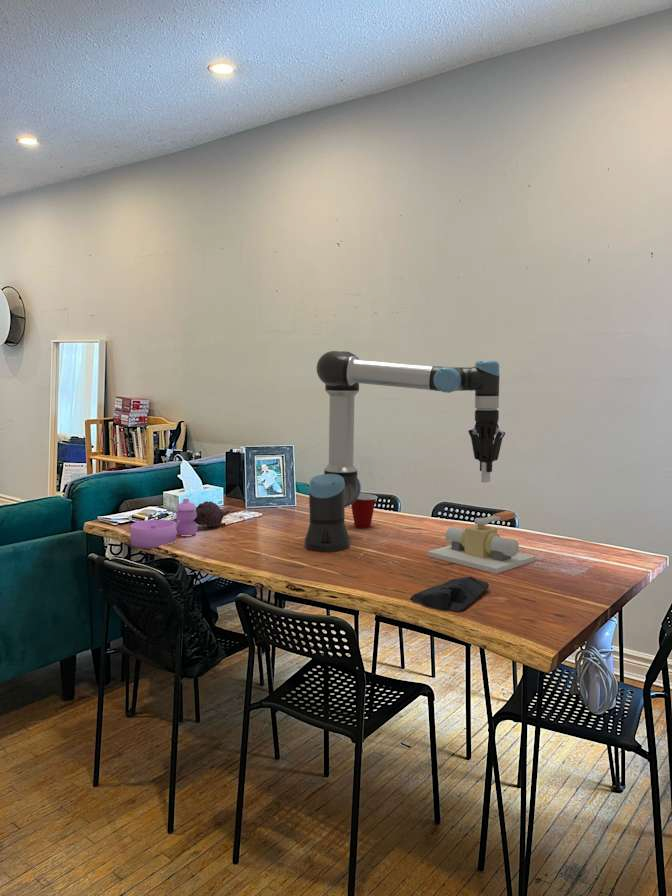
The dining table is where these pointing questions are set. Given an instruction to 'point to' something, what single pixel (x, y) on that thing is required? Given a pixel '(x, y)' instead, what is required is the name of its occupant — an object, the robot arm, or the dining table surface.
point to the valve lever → (495, 518)
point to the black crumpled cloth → (451, 594)
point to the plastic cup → (363, 510)
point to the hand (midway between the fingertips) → (485, 481)
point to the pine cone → (209, 514)
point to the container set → (164, 528)
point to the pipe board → (482, 562)
